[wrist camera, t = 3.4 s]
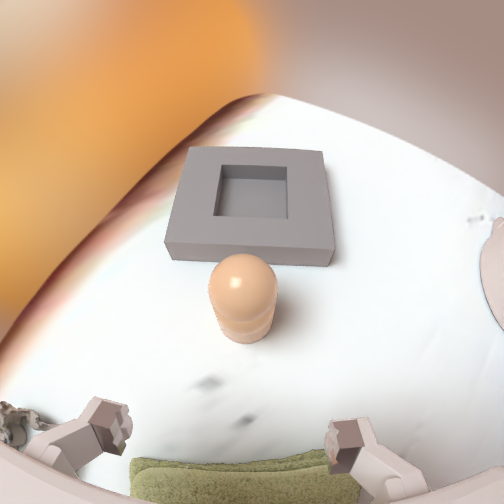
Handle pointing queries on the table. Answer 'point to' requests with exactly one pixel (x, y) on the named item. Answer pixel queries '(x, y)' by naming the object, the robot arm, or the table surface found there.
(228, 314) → the peach dome-topped peg
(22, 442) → the egg carton
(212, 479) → the washcloth
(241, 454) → the table surface
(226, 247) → the grey square peg hole
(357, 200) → the table surface
